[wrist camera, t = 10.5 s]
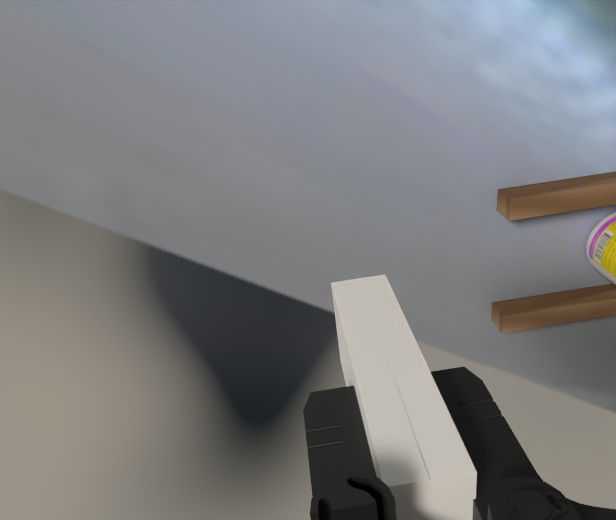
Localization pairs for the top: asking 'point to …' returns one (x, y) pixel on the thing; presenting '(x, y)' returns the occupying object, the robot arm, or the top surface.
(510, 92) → the top surface
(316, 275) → the top surface
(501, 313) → the wooden frame
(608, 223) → the supplement bottle
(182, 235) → the top surface
